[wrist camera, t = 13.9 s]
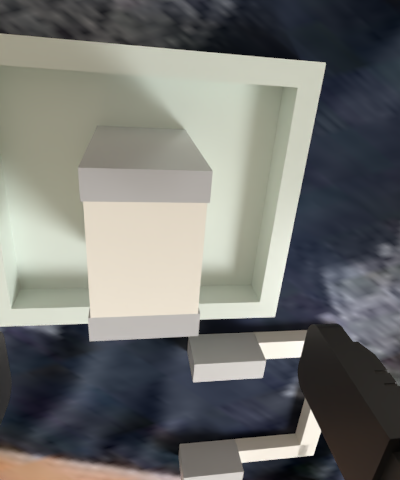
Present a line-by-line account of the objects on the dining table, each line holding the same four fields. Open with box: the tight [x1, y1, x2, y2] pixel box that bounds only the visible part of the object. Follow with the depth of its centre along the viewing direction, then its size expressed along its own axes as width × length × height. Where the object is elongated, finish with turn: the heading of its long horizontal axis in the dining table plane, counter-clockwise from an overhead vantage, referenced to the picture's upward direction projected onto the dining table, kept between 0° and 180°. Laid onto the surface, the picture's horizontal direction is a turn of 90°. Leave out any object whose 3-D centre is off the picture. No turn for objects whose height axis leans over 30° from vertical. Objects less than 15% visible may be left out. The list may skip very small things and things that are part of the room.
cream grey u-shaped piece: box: [179, 330, 321, 480], centre depth 31 cm, size 12×14×3 cm
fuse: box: [78, 125, 213, 341], centre depth 18 cm, size 5×7×8 cm, turn 176°
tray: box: [0, 33, 326, 327], centre depth 21 cm, size 17×15×3 cm
